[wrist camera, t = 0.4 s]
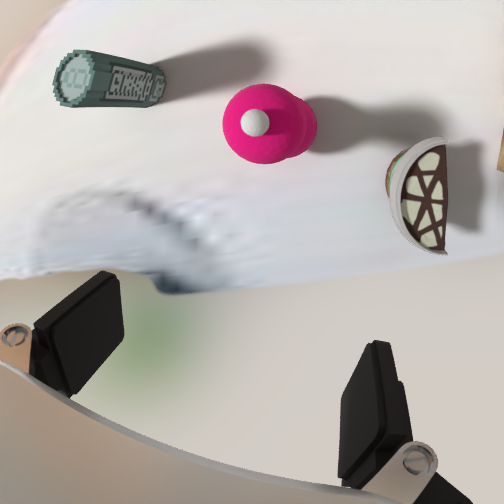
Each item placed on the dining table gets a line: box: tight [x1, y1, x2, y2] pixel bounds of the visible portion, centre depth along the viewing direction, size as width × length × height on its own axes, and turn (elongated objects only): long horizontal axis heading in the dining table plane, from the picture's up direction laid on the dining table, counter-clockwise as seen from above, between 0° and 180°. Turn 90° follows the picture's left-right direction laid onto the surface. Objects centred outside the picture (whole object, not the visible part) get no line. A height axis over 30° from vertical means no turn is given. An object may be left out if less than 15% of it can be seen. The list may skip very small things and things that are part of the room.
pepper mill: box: [223, 84, 317, 164], centre depth 26 cm, size 7×7×20 cm
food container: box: [385, 137, 450, 255], centre depth 30 cm, size 12×6×10 cm, turn 8°
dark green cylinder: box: [53, 50, 166, 108], centre depth 30 cm, size 6×6×15 cm
